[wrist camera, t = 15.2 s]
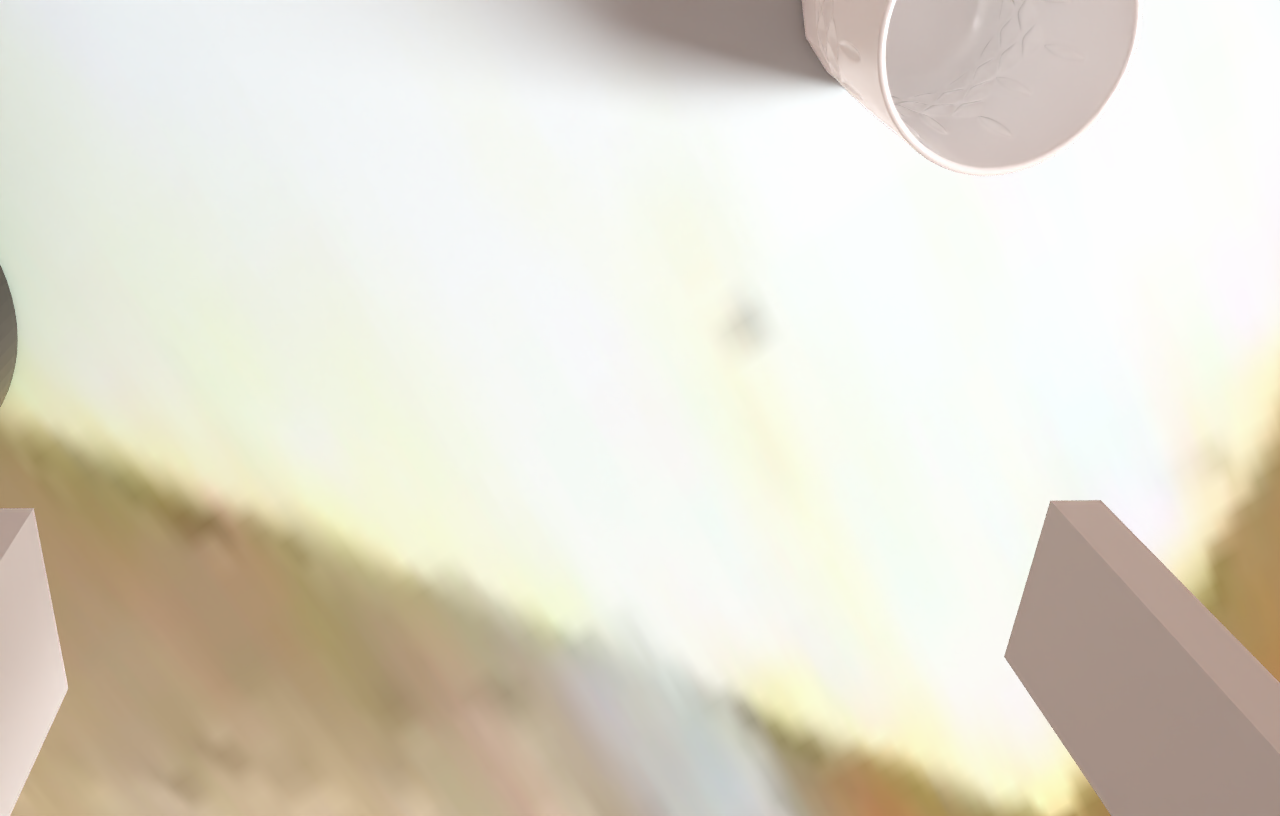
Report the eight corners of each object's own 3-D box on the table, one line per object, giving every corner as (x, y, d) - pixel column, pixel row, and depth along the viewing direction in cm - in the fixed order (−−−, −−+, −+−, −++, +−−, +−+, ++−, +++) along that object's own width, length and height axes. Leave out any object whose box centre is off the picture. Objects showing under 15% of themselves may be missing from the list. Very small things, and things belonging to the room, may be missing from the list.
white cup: (823, 140, 42) (920, 219, 33) (753, -64, 38) (842, -36, 29) (1014, 51, 41) (1164, 107, 33) (962, -165, 38) (1115, -166, 29)
